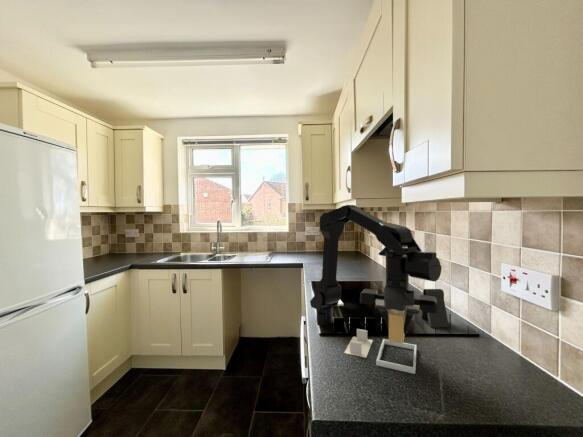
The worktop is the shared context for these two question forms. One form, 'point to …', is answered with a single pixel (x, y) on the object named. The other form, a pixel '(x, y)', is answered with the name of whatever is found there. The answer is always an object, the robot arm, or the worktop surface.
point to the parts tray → (394, 365)
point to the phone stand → (441, 316)
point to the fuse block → (359, 344)
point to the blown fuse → (396, 326)
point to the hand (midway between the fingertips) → (397, 331)
